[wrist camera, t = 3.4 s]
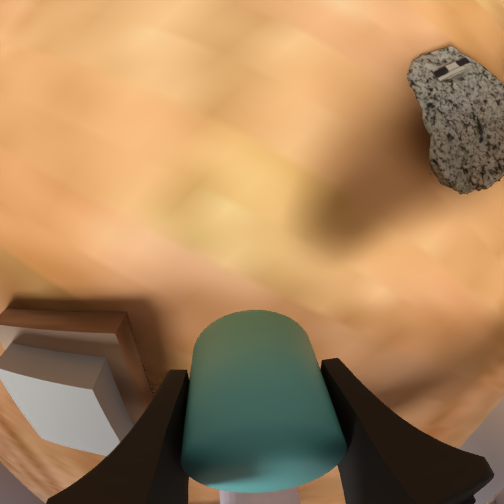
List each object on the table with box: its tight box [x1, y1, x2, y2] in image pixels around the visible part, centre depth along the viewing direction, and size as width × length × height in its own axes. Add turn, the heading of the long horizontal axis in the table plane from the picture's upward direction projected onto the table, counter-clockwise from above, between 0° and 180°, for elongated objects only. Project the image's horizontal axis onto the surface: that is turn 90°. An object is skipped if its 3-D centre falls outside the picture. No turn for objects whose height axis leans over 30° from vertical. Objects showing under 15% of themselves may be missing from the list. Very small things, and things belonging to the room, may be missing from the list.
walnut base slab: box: [0, 308, 154, 425], centre depth 19 cm, size 12×12×3 cm
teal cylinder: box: [181, 310, 347, 493], centre depth 9 cm, size 5×5×5 cm
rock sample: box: [407, 46, 504, 195], centre depth 12 cm, size 10×8×9 cm
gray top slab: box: [0, 343, 134, 456], centre depth 17 cm, size 9×9×3 cm
